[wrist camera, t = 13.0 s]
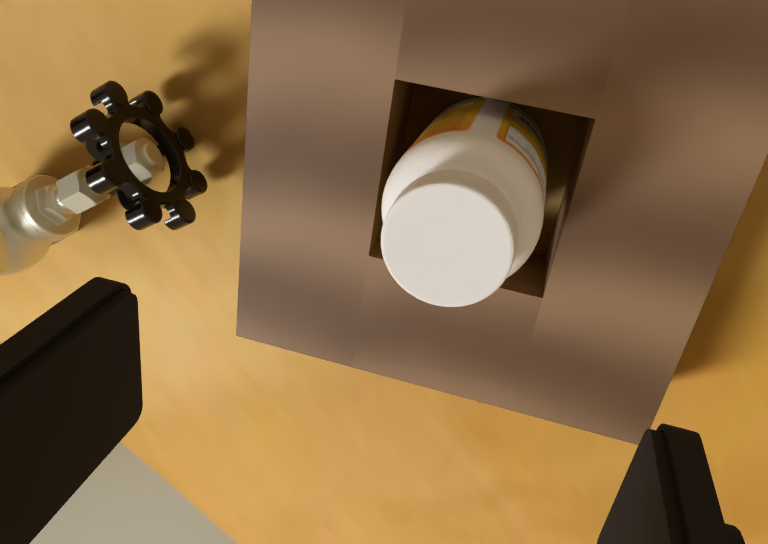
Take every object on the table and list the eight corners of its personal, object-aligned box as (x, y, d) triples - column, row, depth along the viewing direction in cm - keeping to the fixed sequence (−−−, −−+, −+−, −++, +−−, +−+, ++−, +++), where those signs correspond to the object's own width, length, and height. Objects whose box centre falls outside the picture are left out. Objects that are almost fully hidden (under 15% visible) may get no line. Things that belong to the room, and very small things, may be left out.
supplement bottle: (408, 201, 29) (342, 299, 21) (436, 80, 27) (374, 135, 18) (526, 235, 28) (509, 351, 20) (567, 113, 26) (566, 188, 17)
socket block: (301, -113, 25) (257, -125, 21) (803, -35, 22) (847, -33, 19) (271, 295, 33) (236, 335, 30) (633, 389, 30) (642, 446, 27)
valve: (59, 273, 36) (228, 197, 32) (-37, 334, 30) (152, 251, 26) (-14, 166, 34) (154, 67, 30) (-131, 208, 29) (55, 95, 24)
